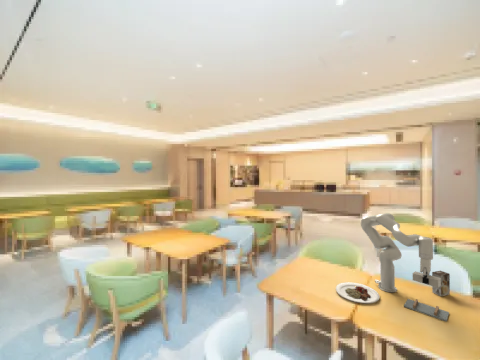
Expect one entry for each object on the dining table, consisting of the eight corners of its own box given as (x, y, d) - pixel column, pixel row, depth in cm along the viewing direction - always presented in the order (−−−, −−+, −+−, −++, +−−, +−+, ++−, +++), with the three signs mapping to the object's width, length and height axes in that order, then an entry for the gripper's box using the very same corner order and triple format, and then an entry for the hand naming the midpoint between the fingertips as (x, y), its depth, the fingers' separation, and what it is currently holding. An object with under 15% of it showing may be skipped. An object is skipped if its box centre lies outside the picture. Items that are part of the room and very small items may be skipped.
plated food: (334, 299, 168) (333, 294, 168) (337, 281, 194) (337, 277, 194) (381, 309, 154) (381, 304, 154) (378, 289, 181) (377, 285, 180)
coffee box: (440, 290, 176) (440, 270, 176) (450, 294, 170) (450, 273, 169) (431, 292, 174) (431, 271, 173) (441, 296, 167) (441, 275, 167)
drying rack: (403, 306, 156) (403, 302, 156) (407, 300, 164) (407, 296, 164) (446, 321, 140) (446, 317, 140) (448, 313, 148) (449, 309, 148)
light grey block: (412, 280, 159) (412, 273, 159) (415, 278, 162) (415, 271, 162) (438, 287, 148) (438, 280, 147) (440, 285, 150) (440, 278, 150)
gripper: (420, 251, 163) (421, 276, 163) (416, 257, 151) (417, 284, 151) (434, 253, 158) (434, 279, 158) (431, 260, 146) (431, 288, 146)
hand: (426, 281), depth 155 cm, fingers closed on light grey block, 5 cm apart
